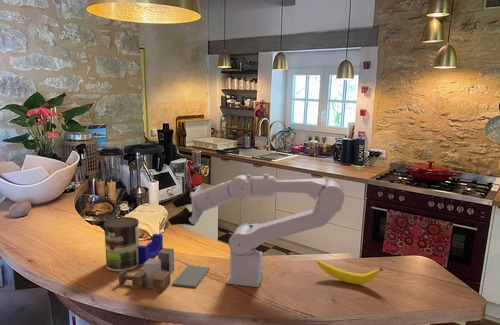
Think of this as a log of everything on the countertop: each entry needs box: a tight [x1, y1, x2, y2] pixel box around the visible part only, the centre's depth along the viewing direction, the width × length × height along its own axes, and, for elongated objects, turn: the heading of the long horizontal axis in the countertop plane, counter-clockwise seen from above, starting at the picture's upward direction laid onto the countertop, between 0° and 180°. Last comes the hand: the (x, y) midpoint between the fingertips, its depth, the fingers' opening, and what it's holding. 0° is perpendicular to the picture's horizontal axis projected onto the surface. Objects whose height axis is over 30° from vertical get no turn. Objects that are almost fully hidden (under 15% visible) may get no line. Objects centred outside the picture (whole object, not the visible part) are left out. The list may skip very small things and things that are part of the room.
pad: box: [172, 264, 210, 289], centre depth 108 cm, size 7×12×1 cm, turn 168°
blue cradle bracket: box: [138, 233, 164, 266], centre depth 121 cm, size 12×4×6 cm, turn 168°
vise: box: [118, 268, 171, 293], centre depth 103 cm, size 14×5×4 cm, turn 78°
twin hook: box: [142, 258, 161, 289], centre depth 108 cm, size 7×13×7 cm, turn 168°
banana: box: [315, 259, 383, 285], centre depth 106 cm, size 3×19×6 cm, turn 64°
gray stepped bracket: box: [157, 247, 175, 276], centre depth 109 cm, size 4×8×7 cm, turn 168°
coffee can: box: [103, 216, 140, 272], centre depth 115 cm, size 10×10×14 cm
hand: (172, 213), depth 108 cm, fingers open, 7 cm apart
